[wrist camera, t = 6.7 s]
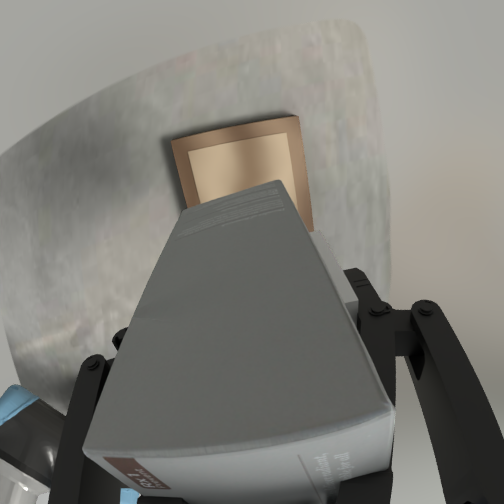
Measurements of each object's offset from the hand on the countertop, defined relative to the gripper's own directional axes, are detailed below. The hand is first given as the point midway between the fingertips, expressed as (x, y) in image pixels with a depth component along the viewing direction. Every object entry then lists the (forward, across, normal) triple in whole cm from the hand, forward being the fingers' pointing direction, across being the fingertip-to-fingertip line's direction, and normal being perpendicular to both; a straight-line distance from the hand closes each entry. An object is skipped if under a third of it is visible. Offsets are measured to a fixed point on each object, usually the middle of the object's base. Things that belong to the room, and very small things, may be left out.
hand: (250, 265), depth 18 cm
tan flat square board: (+17, 0, 0) cm, 17 cm away
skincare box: (+3, 0, 0) cm, 3 cm away
